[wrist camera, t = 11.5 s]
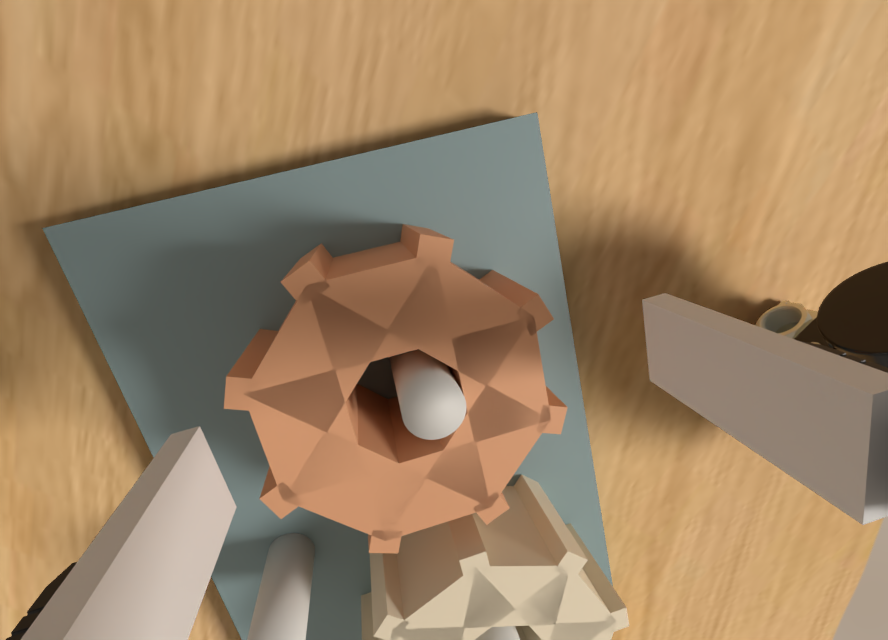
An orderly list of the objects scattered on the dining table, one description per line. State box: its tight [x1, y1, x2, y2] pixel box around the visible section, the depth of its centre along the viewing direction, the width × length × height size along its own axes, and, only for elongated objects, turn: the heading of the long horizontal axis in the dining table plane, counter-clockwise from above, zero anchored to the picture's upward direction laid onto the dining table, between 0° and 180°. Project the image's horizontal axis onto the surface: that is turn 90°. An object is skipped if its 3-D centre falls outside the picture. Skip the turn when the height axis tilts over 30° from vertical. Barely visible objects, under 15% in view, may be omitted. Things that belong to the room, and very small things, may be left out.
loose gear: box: [224, 224, 568, 553], centre depth 17 cm, size 10×10×5 cm
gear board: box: [42, 112, 629, 640], centre depth 19 cm, size 25×18×7 cm
